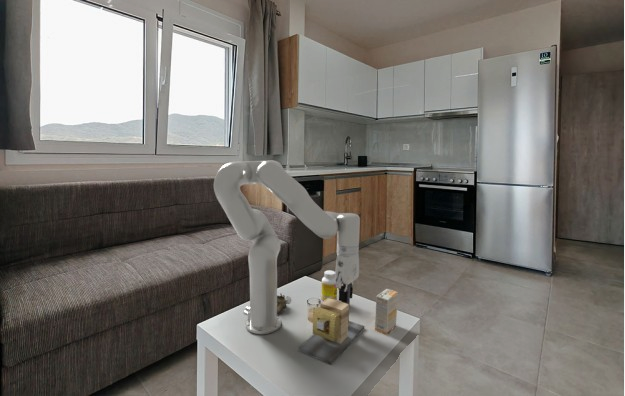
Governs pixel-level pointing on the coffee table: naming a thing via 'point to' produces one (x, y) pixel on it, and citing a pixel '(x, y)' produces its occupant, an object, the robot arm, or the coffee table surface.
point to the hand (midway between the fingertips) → (345, 298)
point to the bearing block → (328, 348)
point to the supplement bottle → (329, 286)
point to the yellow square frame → (329, 316)
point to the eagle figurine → (282, 303)
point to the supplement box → (386, 310)
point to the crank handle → (324, 324)
